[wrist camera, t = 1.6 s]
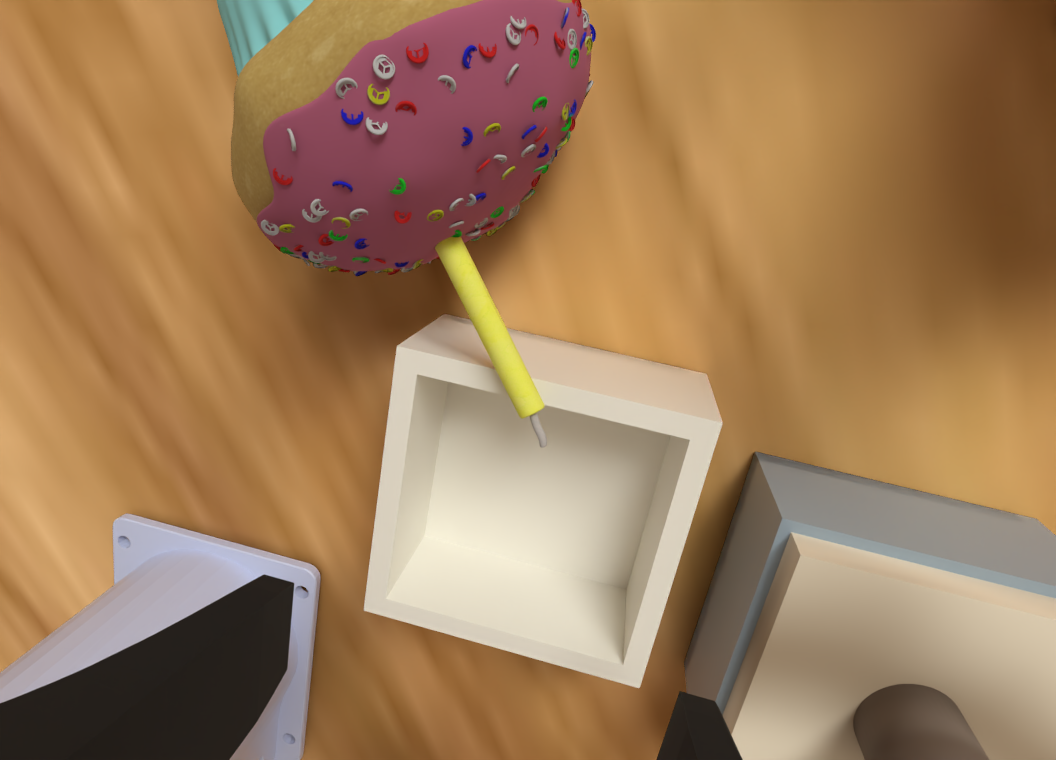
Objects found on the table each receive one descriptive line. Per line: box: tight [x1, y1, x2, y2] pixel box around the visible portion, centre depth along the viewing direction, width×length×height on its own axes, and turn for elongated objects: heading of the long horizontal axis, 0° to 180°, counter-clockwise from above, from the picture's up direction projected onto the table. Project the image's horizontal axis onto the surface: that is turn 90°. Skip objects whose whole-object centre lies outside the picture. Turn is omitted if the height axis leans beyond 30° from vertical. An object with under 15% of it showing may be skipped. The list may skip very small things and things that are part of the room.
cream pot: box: [364, 314, 723, 688], centre depth 18 cm, size 8×8×4 cm
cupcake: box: [217, 0, 596, 448], centre depth 14 cm, size 9×8×12 cm
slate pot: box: [684, 452, 1056, 715], centre depth 18 cm, size 8×8×4 cm
